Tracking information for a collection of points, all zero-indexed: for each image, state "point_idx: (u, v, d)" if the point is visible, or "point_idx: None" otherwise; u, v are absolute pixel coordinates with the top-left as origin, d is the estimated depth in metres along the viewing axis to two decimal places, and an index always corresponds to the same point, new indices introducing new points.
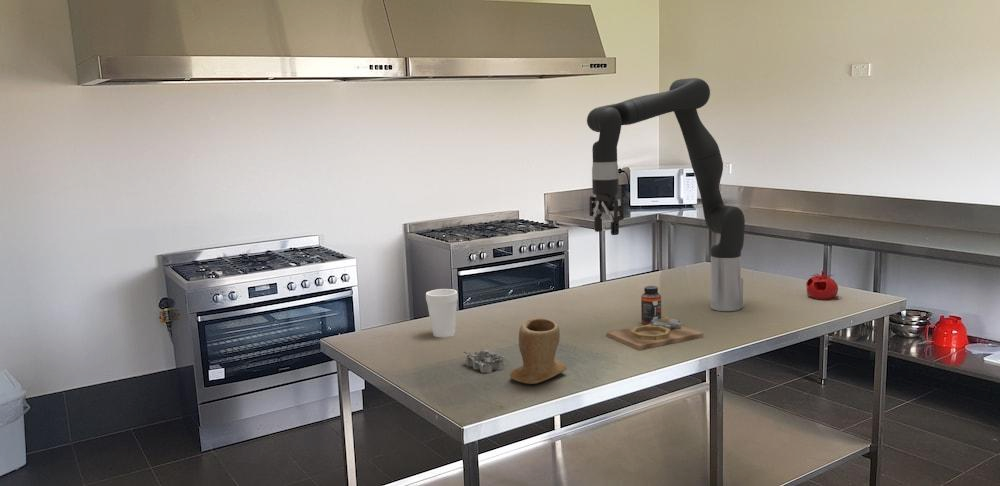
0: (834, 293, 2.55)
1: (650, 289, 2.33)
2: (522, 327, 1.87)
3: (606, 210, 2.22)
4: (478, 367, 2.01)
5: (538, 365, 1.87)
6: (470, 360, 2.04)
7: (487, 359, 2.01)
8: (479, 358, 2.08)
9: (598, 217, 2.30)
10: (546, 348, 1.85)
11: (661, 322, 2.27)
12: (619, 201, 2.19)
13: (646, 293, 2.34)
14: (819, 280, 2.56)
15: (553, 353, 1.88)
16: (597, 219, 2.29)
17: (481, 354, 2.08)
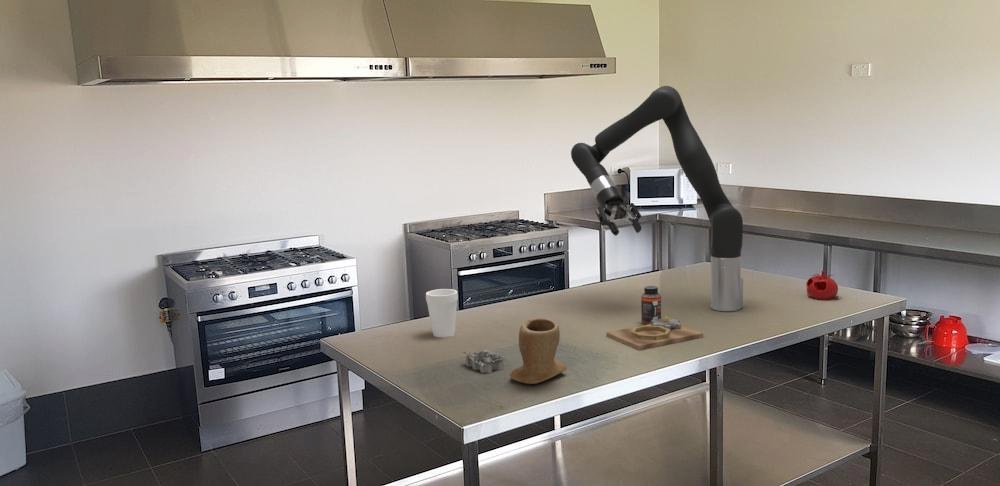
0: (834, 293, 2.55)
1: (650, 289, 2.33)
2: (522, 327, 1.87)
3: None
4: (478, 367, 2.01)
5: (538, 365, 1.87)
6: (470, 360, 2.04)
7: (487, 359, 2.01)
8: (478, 358, 2.08)
9: (633, 220, 2.46)
10: (546, 348, 1.85)
11: (661, 322, 2.27)
12: (597, 210, 2.44)
13: (646, 293, 2.34)
14: (819, 280, 2.56)
15: (553, 353, 1.88)
16: (632, 223, 2.46)
17: (480, 354, 2.08)
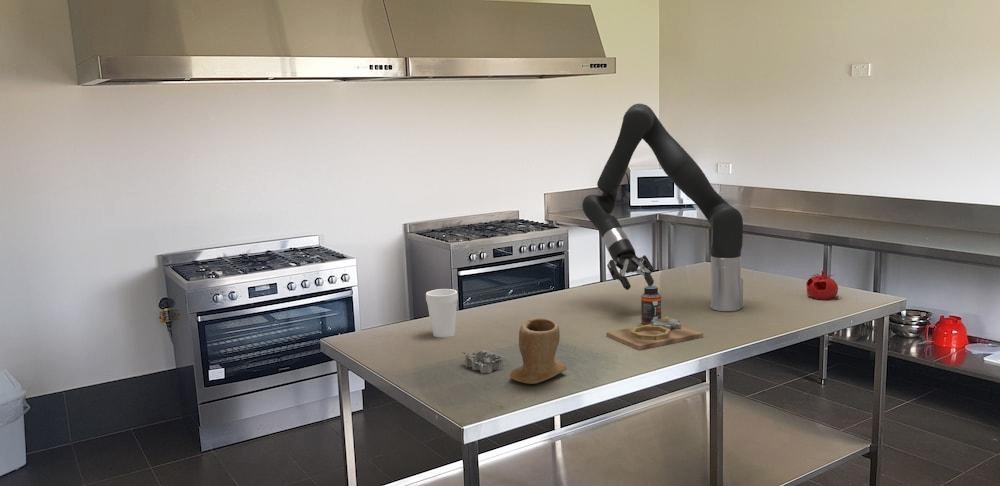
0: (834, 293, 2.55)
1: (650, 289, 2.33)
2: (522, 327, 1.87)
3: None
4: (478, 368, 2.01)
5: (538, 365, 1.87)
6: (469, 361, 2.03)
7: (486, 359, 2.01)
8: (477, 359, 2.08)
9: (645, 274, 2.44)
10: (546, 348, 1.85)
11: (661, 322, 2.27)
12: (608, 263, 2.42)
13: (646, 293, 2.34)
14: (819, 280, 2.56)
15: (553, 353, 1.88)
16: (645, 276, 2.44)
17: (479, 354, 2.08)
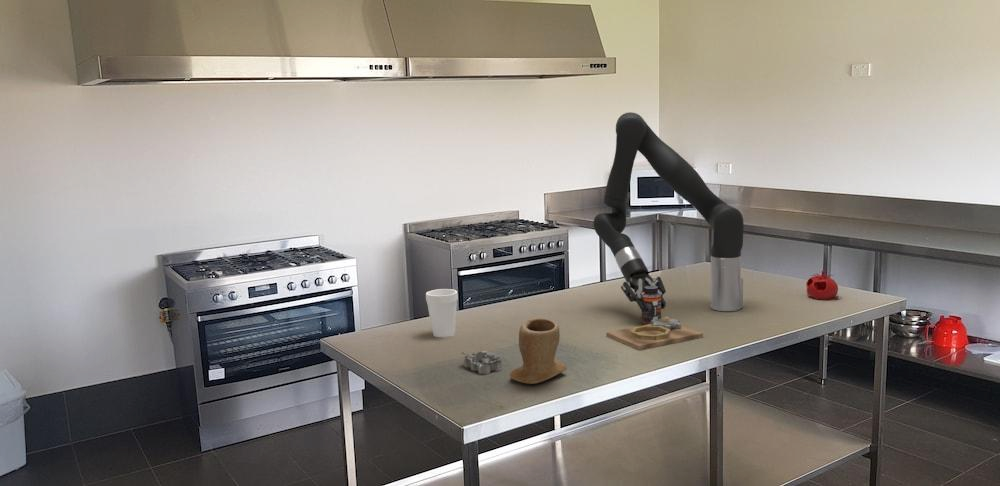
0: (834, 293, 2.55)
1: (650, 289, 2.33)
2: (522, 327, 1.87)
3: None
4: (476, 368, 2.00)
5: (538, 365, 1.87)
6: (468, 361, 2.03)
7: (485, 360, 2.00)
8: (477, 359, 2.08)
9: None
10: (546, 348, 1.85)
11: (661, 322, 2.27)
12: (622, 285, 2.37)
13: (646, 293, 2.34)
14: (819, 280, 2.56)
15: (553, 353, 1.88)
16: None
17: (479, 355, 2.07)
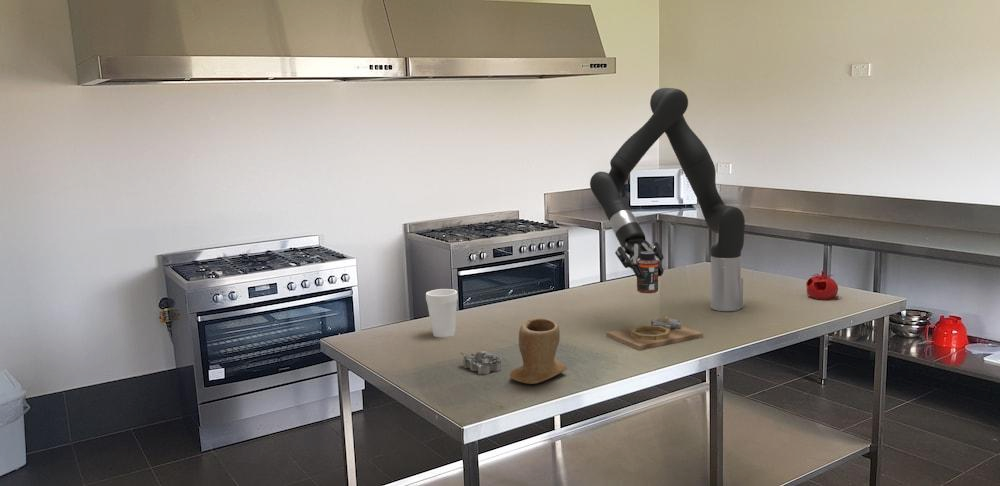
0: (834, 293, 2.55)
1: (646, 254, 2.17)
2: (522, 327, 1.87)
3: None
4: (475, 368, 2.00)
5: (538, 365, 1.87)
6: (467, 361, 2.03)
7: (484, 360, 2.00)
8: (476, 359, 2.07)
9: None
10: (546, 348, 1.85)
11: (661, 322, 2.27)
12: (617, 251, 2.20)
13: (642, 259, 2.17)
14: (819, 280, 2.56)
15: (553, 353, 1.88)
16: None
17: (478, 355, 2.07)
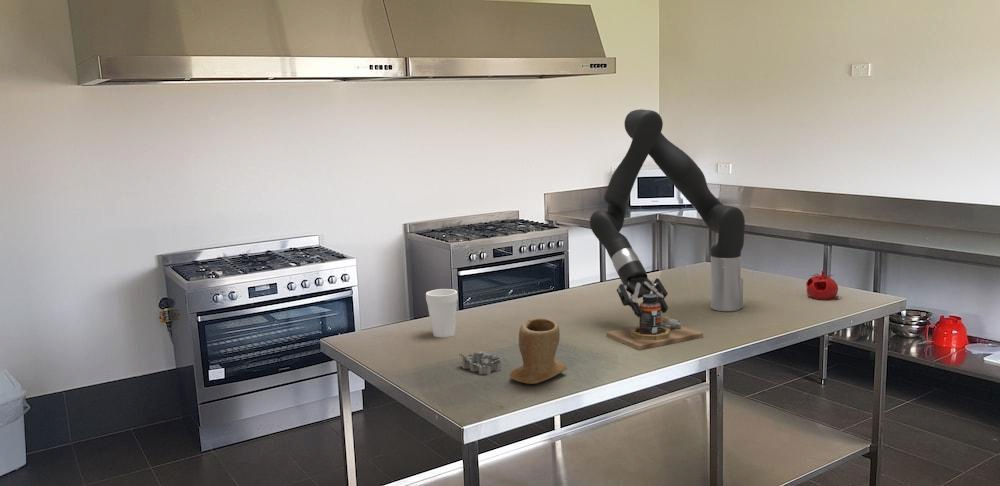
0: (834, 293, 2.55)
1: (649, 298, 2.18)
2: (522, 327, 1.87)
3: None
4: (476, 369, 2.00)
5: (538, 365, 1.87)
6: (466, 362, 2.02)
7: (485, 360, 2.00)
8: (473, 360, 2.07)
9: (658, 299, 2.23)
10: (546, 348, 1.85)
11: (661, 322, 2.27)
12: (618, 288, 2.21)
13: (645, 302, 2.18)
14: (819, 280, 2.56)
15: (553, 353, 1.88)
16: (658, 301, 2.23)
17: (475, 356, 2.07)
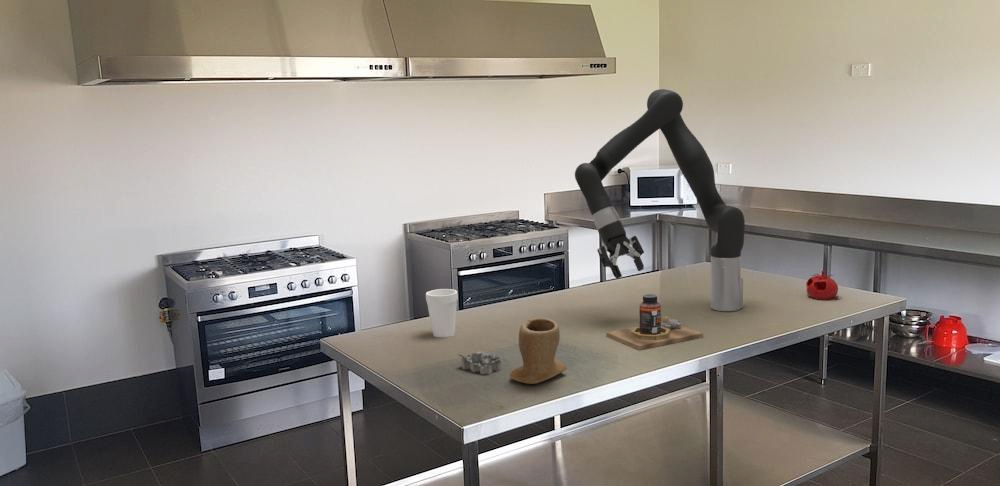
0: (834, 293, 2.55)
1: (649, 298, 2.18)
2: (522, 327, 1.87)
3: None
4: (476, 369, 2.00)
5: (538, 365, 1.87)
6: (466, 363, 2.02)
7: (485, 360, 2.00)
8: (472, 360, 2.07)
9: (635, 257, 2.35)
10: (546, 348, 1.85)
11: (661, 322, 2.27)
12: (599, 249, 2.31)
13: (645, 302, 2.18)
14: (819, 280, 2.56)
15: (553, 353, 1.88)
16: (634, 259, 2.35)
17: (474, 356, 2.07)
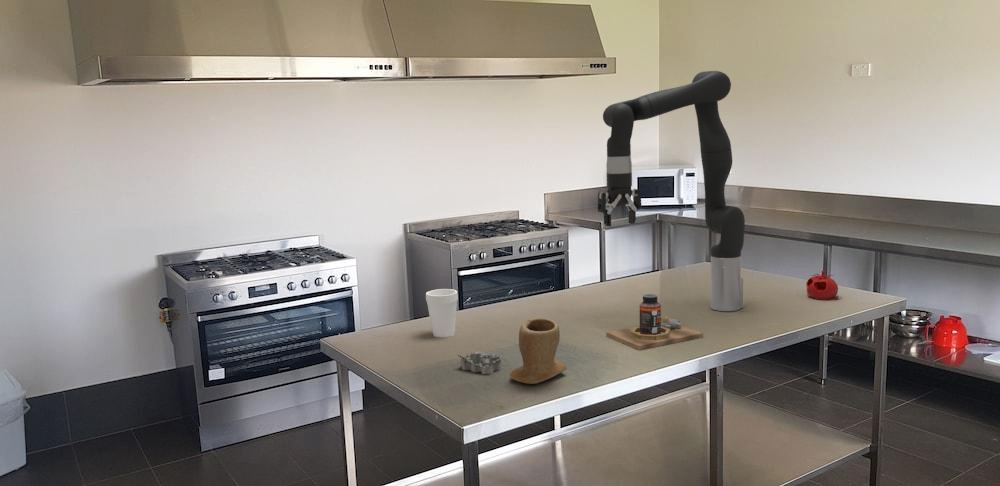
0: (834, 293, 2.55)
1: (649, 298, 2.18)
2: (522, 327, 1.87)
3: None
4: (477, 369, 1.99)
5: (538, 365, 1.87)
6: (466, 363, 2.01)
7: (486, 360, 2.00)
8: None
9: (631, 210, 2.37)
10: (546, 348, 1.85)
11: (661, 322, 2.27)
12: (600, 194, 2.31)
13: (645, 302, 2.18)
14: (819, 280, 2.56)
15: (553, 353, 1.88)
16: (629, 211, 2.37)
17: (472, 356, 2.06)
